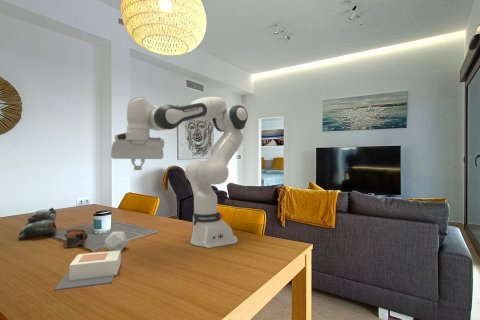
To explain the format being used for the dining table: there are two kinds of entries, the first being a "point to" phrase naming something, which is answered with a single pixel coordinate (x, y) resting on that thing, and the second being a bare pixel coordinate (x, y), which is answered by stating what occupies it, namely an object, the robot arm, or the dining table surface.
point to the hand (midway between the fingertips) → (138, 170)
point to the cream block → (95, 265)
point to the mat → (82, 282)
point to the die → (116, 241)
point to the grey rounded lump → (40, 224)
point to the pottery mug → (75, 238)
